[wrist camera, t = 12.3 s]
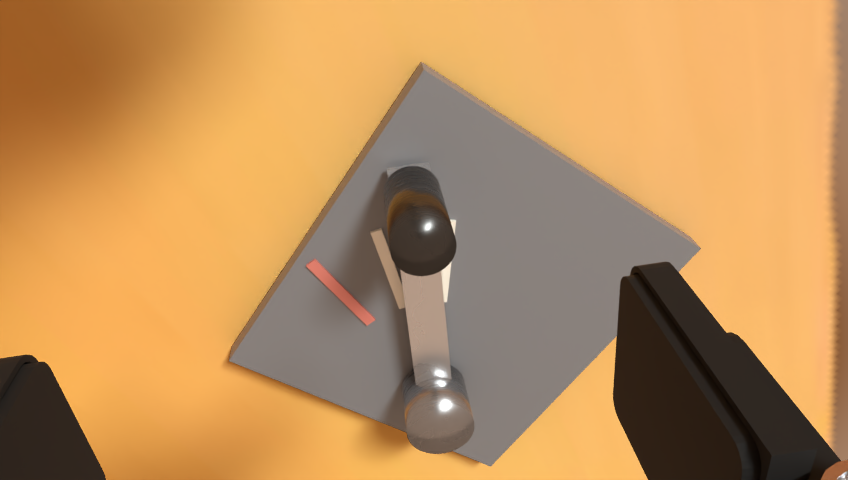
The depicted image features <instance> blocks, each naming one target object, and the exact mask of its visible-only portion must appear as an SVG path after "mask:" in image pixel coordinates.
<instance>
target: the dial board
mask: <svg viewBox="0 0 848 480" xmlns="http://www.w3.org/2000/svg"><path fill="white" fill-rule="evenodd" d="M426 162H429V165H430V169H431V172H432V173H433V174H434V175H435V176H436V178H437V179H438V181H439V184H440V187H441V191H442V194H443V198H444V201H445V204H446V208H447V211H448V215H449V218H450V221H451V225H452V228H453V232H454V235H455V238H456V243H457V248H456V253H455V256H454V258H453V260H452V261H451V263H450V264H449V265H448V266H447V267H446V268H444V269H443V270H442V271H441V275H442V285H443V295H444V306H445V316H446V326H447V337H448V347H449V357H450V365H451V366H453V367H455V368H456V369H458V370H459V371H460V372H461V374H462V375H463V378H464V381H465V385H466V390H467V394H468V398H469V403H470V407H471V411H472V415H473V420H474V432H473V435H472V436H471V438H470V439H469V441H468V442H467V443H465V444H464V445H463V446H461V447H460V448H458V449H456V450H454V452H456V453H459V454H461V455H463V456H466V457H468V458H471V459H473V460H476V461H478V462H481V463H483V464H486V465H488V466H492V465H493V464H494V462H495V461H496V460H497V459H498V458H499V457H500V456H501V455H502V454H503V453H504V452H505V451H506V450H507V449H508V448H509V447H510V446H511V445H512V444H513V443H514V442H515V441H516V440H517V439H518V438H519V437H520V436H521V435H522V433H523V432H524V431H525V430H526V429H527V428H528V427H529V426H530V425H531V424H532V423H533V422H534V421H535V420H536V419H537V418H538V417H539V416H540V415H541V414H542V413H543V412H544V411H545V410H546V409H547V408H548V407H549V405H550V404H551V403H552V402H553V401H554V400H555V399H556V398H557V397H558V396H559V395H560V394H561V393H562V392H563V391H564V390H565V389H566V388H567V387H568V386H569V385H570V384H571V383H572V382H573V381H574V380H575V379H576V378H577V376H578V375H579V374H580V373H581V372H582V371H583V370H584V369H585V368H586V367H587V366H588V365H589V364H590V363H591V362H592V361H593V360H594V359H595V358H596V357H597V356H598V355H599V354H600V353H601V352H602V351H603V350H604V348H605V347H606V346H607V345H608V344H609V343H610V342H611V341H612V340H613V339H614V338H615V337H616V336H617V326H618V310H619V294H620V282H621V279H622V277H624V276H630V272H631V269H632V268H633V267H634V266H639V265H646V264H652V263H659V262H670V263H671V264H672V265H673V266H674V267H675V269H676V270H677V271H678V272H679V271H680V270H681V269H682V268H683V267H684V266H685V265H686V264H687V262H688V261H689V260H690V259H691V258H692V257H693V256H694V255H695V254H696V253H697V252H698V251H699V250H700V249H701V248H700V247H699V246H698V245H697V244H696V243H695V242H694V240H693V239H692V238H691V237H690V236H688V235H686V234H685V233H683V232H682V231H680V230H679V229H677V228H676V227H674V226H673V225H671V224H670V223H668V222H666V221H665V220H663V219H662V218H660V217H659V216H657V215H656V214H654V213H653V212H651V211H650V210H648V209H647V208H645V207H643V206H642V205H640V204H639V203H637V202H636V201H634V200H633V199H631V198H630V197H628V196H627V195H625V194H623V193H622V192H620V191H619V190H617V189H616V188H614V187H613V186H611V185H610V184H608V183H607V182H605V181H604V180H602V179H600V178H599V177H597V176H596V175H594V174H593V173H591V172H590V171H588V170H587V169H585V168H584V167H582V166H580V165H579V164H577V163H576V162H574V161H573V160H571V159H570V158H568V157H567V156H565V155H564V154H562V153H561V152H559V151H557V150H556V149H554V148H553V147H551V146H550V145H548V144H547V143H545V142H544V141H542V140H541V139H539V138H537V137H536V136H534V135H533V134H531V133H530V132H528V131H527V130H525V129H524V128H522V127H521V126H519V125H517V124H516V123H514V122H513V121H511V120H510V119H508V118H507V117H505V116H504V115H502V114H501V113H499V112H498V111H496V110H494V109H493V108H491V107H490V106H488V105H487V104H485V103H484V102H482V101H481V100H479V99H478V98H476V97H474V96H473V95H471V94H470V93H468V92H467V91H465V90H464V89H462V88H461V87H459V86H458V85H456V84H455V83H453V82H451V81H450V80H448V79H447V78H445V77H444V76H442V75H441V74H439V73H438V72H436V71H435V70H433V69H431V68H430V67H428V66H427V65H425V64H424V63H422V62H421V63H420V64H419V66H418V67H417V69H416V70H415V72H414V73H413V75H412V76H411V78H410V79H409V81H408V82H407V84H406V85H405V87H404V88H403V90H402V91H401V93H400V94H399V96H398V97H397V99H396V100H395V102H394V103H393V105H392V106H391V108H390V109H389V111H388V112H387V114H386V115H385V117H384V118H383V120H382V121H381V123H380V124H379V126H378V127H377V129H376V130H375V132H374V133H373V135H372V136H371V138H370V139H369V141H368V142H367V144H366V145H365V147H364V148H363V150H362V151H361V153H360V154H359V156H358V157H357V159H356V160H355V162H354V163H353V165H352V166H351V168H350V169H349V171H348V172H347V174H346V176H345V177H344V179H343V180H342V182H341V183H340V185H339V186H338V188H337V189H336V191H335V192H334V194H333V195H332V197H331V198H330V200H329V201H328V203H327V204H326V206H325V207H324V209H323V210H322V212H321V213H320V215H319V216H318V218H317V219H316V221H315V222H314V224H313V225H312V227H311V228H310V230H309V231H308V233H307V234H306V236H305V237H304V239H303V240H302V242H301V243H300V245H299V246H298V248H297V249H296V251H295V252H294V254H293V255H292V257H291V258H290V260H289V261H288V263H287V264H286V266H285V267H284V269H283V270H282V272H281V273H280V275H279V276H278V278H277V279H276V281H275V282H274V284H273V285H272V287H271V288H270V290H269V291H268V293H267V294H266V296H265V297H264V299H263V300H262V302H261V303H260V305H259V306H258V308H257V309H256V311H255V312H254V314H253V315H252V317H251V318H250V320H249V321H248V323H247V324H246V326H245V327H244V329H243V330H242V332H241V333H240V335H239V336H238V338H237V339H236V341H235V342H234V344H233V345H232V348H231V353H230V358H229V361H230V362H233V363H235V364H238V365H240V366H243V367H245V368H248V369H250V370H253V371H255V372H258V373H260V374H263V375H265V376H268V377H270V378H273V379H275V380H277V381H280V382H282V383H285V384H287V385H290V386H292V387H295V388H297V389H300V390H302V391H305V392H307V393H310V394H312V395H315V396H317V397H320V398H322V399H325V400H327V401H330V402H332V403H335V404H337V405H339V406H342V407H344V408H347V409H349V410H352V411H354V412H357V413H359V414H362V415H364V416H367V417H369V418H372V419H374V420H377V421H379V422H382V423H384V424H387V425H389V426H392V427H394V428H397V429H399V430H401V431H404V432H406V433H407V430H406V421H405V412H404V404H403V395H402V384H403V381H404V379H405V378H406V376H407V375H408V374H409V373H410V372H411V371H412V370H414V368H413V361H412V353H411V346H410V338H409V331H408V324H407V316H406V309H405V301H404V294H403V286H402V279H401V271H400V269H399V268H398V267H397V266H396V265H395V263H394V262H393V260H392V257H391V254H390V246H389V238H388V230H387V222H386V214H385V206H384V198H383V188H384V185H385V182H386V181H387V179H388V175H387V168H388V167H395V166H403V165H411V164H418V163H426Z"/></svg>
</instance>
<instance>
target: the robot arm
mask: <svg viewBox="0 0 848 480" xmlns="http://www.w3.org/2000/svg"><path fill="white" fill-rule="evenodd" d="M613 400H614V406H615V410H616V414H617V416H618V419H619V421H620V423H621V425H622V427H623V429H624V431H625V433H626V435H627V437H628V439H629V441H630V443H631V445H632V447H633V449H634V452H635V454H636V456H637V458H638V460H639V462H640V464H641V466H642V468H643V470H644V472H645V474H646V476H647V478H648V480H848V460H844V461H841V460H840V459H839V458H838V457H837V455H836V454H835V453H834V452H833V450H832V449H831V448H830V447H829V445H828V444H827V443H826V442H825V441H824V439H823V438H822V437H821V436H820V434H819V433H818V432H817V431H816V429H815V428H814V427H813V426H812V424H811V423H810V422H809V421H808V420H807V418H806V417H805V416H804V415H803V413H802V412H801V411H800V410H799V408H798V407H797V406H796V405H795V404H794V402H793V401H792V400H791V399H790V397H789V396H788V395H787V394H786V392H785V391H784V390H783V389H782V388H781V386H780V385H779V384H778V383H777V381H776V380H775V379H774V378H773V376H772V375H771V374H770V373H769V372H768V370H767V369H766V368H765V367H764V365H763V364H762V363H761V362H760V360H759V359H758V358H757V357H756V356H755V354H754V353H753V352H752V351H751V349H750V348H749V347H748V346H747V344H746V343H745V342H744V341H743V340H742V339H741V338H740V337H739V336H738V335H736V334H734V333H731V332H730V333H726V332H725V331H724V329H723V328H722V327H721V326H720V324H719V323H718V322H717V321H716V319H715V318H714V317H713V315H712V314H711V313H710V312H709V310H708V309H707V308H706V307H705V305H704V304H703V303H702V302H701V300H700V299H699V298H698V296H697V295H696V294H695V293H694V291H693V290H692V289H691V288H690V286H689V285H688V284H687V283H686V281H685V280H684V279H683V277H682V276H681V275H680V274H679V272H678V271H677V270H676V269H675V267H674V266H673V265H672V264H671V263H670V262H659V263H652V264H646V265H639V266H634V267H633V268H632V269H631V272H630V276H624V277H622V279H621V282H620V294H619V310H618V326H617V342H616V358H615V373H614V389H613ZM0 480H106V478H105V474H104V472H103V470H102V468H101V466H100V464H99V462H98V460H97V458H96V456H95V454H94V452H93V450H92V448H91V446H90V445H89V443H88V441H87V439H86V437H85V435H84V433H83V431H82V429H81V427H80V425H79V423H78V421H77V419H76V417H75V415H74V413H73V411H72V409H71V407H70V406H69V404H68V402H67V400H66V398H65V396H64V394H63V392H62V390H61V388H60V386H59V384H58V382H57V380H56V378H55V376H54V374H53V372H52V370H51V368H50V367H49V366H48V364H46V363H45V362H38V361H37V359H36V358H35V357H33V356H32V355H21V356H14V357H7V358H1V359H0Z"/></svg>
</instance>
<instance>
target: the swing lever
mask: <svg viewBox="0 0 848 480" xmlns="http://www.w3.org/2000/svg"><path fill="white" fill-rule="evenodd" d="M387 175H388V179H387V181H386V182H385V185H384V188H383V198H384V206H385V214H386V222H387V230H388V238H389V246H390V254H391V257H392V260H393V262H394V263H395V265H396V266H397V267H398V268H399V269H400V271H401V279H402V286H403V294H404V301H405V309H406V316H407V324H408V331H409V338H410V346H411V353H412V361H413V368H414V370H412V371H411V372H410V373H409V374H408V375H407V376H406V378H405V379H404V381H403V384H402V395H403V404H404V412H405V421H406V430H407V437H408V439H409V441H410V443H411V444H412V445H413V446H414V447H415V448H417V449H418V450H420V451H423V452H426V453H432V454H441V453H447V452H451V451H454V450H456V449H458V448H460V447H461V446H463V445H464V444H465V443H467V442H468V441H469V439H470V438H471V436H472V435H473V432H474V420H473V415H472V411H471V407H470V403H469V398H468V394H467V390H466V385H465V381H464V378H463V375H462V374H461V372H460V371H459V370H458V369H456V368H455V367H453V366H451V365H450V357H449V347H448V337H447V326H446V316H445V306H444V295H443V285H442V275H441V271H442V270H443V269H444V268H446V267H447V266H448V265H449V264H450V263H451V261H452V260H453V258H454V256H455V253H456V248H457V243H456V238H455V235H454V232H453V228H452V225H451V221H450V218H449V215H448V211H447V208H446V204H445V201H444V198H443V194H442V191H441V187H440V184H439V181H438V179H437V178H436V176H435V175H434V174H433V173H432V172H431V169H430V165H429V162H426V163H418V164H411V165H403V166H395V167H388V168H387Z"/></svg>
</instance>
